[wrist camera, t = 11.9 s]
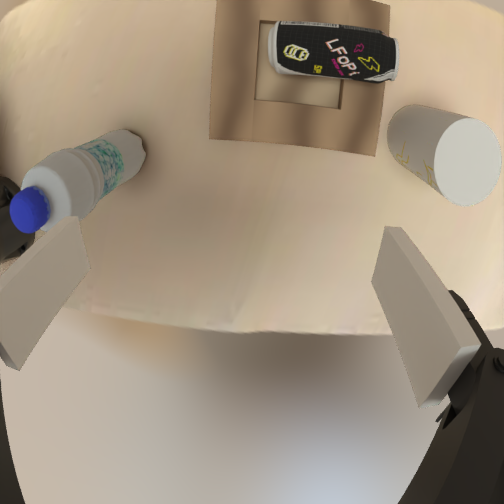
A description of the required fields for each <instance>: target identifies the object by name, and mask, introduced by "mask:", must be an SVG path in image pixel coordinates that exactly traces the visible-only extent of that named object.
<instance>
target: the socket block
mask: <svg viewBox="0 0 504 504" xmlns="http://www.w3.org/2000/svg"><path fill="white" fill-rule="evenodd" d="M277 21H301V22H319V23H331V24H341V25H350V26H357V27H364V28H371V29H377V30H381V31H383V32H384V33H385V34H386V35H388V36H389V22H390V5H386V4H383V3H379V2H375V1H372V0H217V5H216V17H215V31H214V45H213V61H212V79H211V101H210V128H209V139H217V140H238V141H253V142H266V143H278V144H288V145H298V146H306V147H315V148H323V149H330V150H337V151H344V152H350V153H357V154H363V155H369V156H374V157H375V153H376V147H377V141H378V134H379V127H380V120H381V113H382V105H383V97H384V88H385V81H384V82H382V83H379V84H375V83H369V82H362V81H355V80H348V79H340V78H331V77H320V76H308V75H292V74H278V73H277V72H276V70H275V68H274V67H272V66H271V64H270V61H269V56H268V36H269V31H270V29H271V28H272V27H274V26H275V23H276V22H277Z"/></svg>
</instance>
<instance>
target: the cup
mask: <svg viewBox="0 0 504 504" xmlns="http://www.w3.org/2000/svg"><path fill="white" fill-rule="evenodd" d="M387 142H388V146H389V149H390V152H391V154H392V155H393V157H394V158H395V159H396V160H397V161H398V162H399V163H400V164H401V165H403V166H404V167H405V168H407V169H408V170H410V171H411V172H412V173H414V174H415V175H416V176H418V177H419V178H421V179H422V180H423V181H425V182H426V183H427V184H428V185H430V186H431V187H432V188H434V189H435V190H436V191H437V192H439V193H440V194H441V195H443V196H444V197H445V198H446V199H447V200H449V201H450V202H452V203H453V204H456V205H458V206H472V205H475V204H478V203H480V202H481V201H483V200H484V199H485V198H486V197H487V196H488V195H489V194H490V193H491V192H492V190H493V189H494V187H495V185H496V183H497V181H498V179H499V175H500V171H501V164H502V156H501V149H500V145H499V142H498V139H497V137H496V135H495V134H494V132H493V131H492V129H491V128H490V127H489V126H488V125H487V124H485V123H484V122H482V121H480V120H478V119H474V118H471V117H467V116H463V115H460V114H456V113H452V112H448V111H443V110H439V109H435V108H430V107H425V106H420V105H409V106H406V107H403V108H402V109H400V110H399V111H398V112H396V113H395V115H394V116H393V117H392V119H391V121H390V123H389V126H388V131H387Z"/></svg>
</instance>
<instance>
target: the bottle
mask: <svg viewBox="0 0 504 504" xmlns="http://www.w3.org/2000/svg"><path fill="white" fill-rule="evenodd" d="M145 157H146V153H145V152H144V150H143V147H142V139H141V138H140V137H139V136H137V135H134V134H132V133H131V132H129V131H128V130H123V129H122V130H116V131H112V132H109V133H107V134H105V135H103V136H101V137H99V138H97V139H96V140H93V141H90V142H88V143H86V144H83V145H81V146H78V147H76V148H74V149H71V148H68V149H63V150H60V151H58V152H54V153H52V154H50V155H49V156H47V157H46V158H45V159H44V160H42V161H41V162H39V163H38V164H37V165H35V166H34V167H33V168H31V169H30V170H29V171H28V172H27V173H26V175H25V177H24V179H23V182H22V186H21V191H20V192H18V193H17V194H16V195H15V196H14V197H13V199H12V201H11V204H10V216H11V219H12V221H13V223H14V225H15V226H16V227H17V229H19V230H20V231H21V232H24V233H28V234H29V233H33V232H35V231H37V230H39V229H41V230H42V231H45V232H48V231H49V230H50V229H51V228H52V227H53V226H54V225H56V224H57V223H58V222H59V221H60V220H62V219H63V218H64V217H65V216H78V219H79V221H80V220H82V219H83V218H85V217H86V216H87V215H88V213H90V212H91V211H92V210H93V209H94V208H95V206H96V204H97V203H98V201H99V200H100V199H101V198H103V197H104V196H105V195H107V194H108V193H109V192H111V191H112V190H113V189H114V188H116V187H117V186H119V185H121V184H122V183H124V182H126V181H128V180H129V179H131V178H132V177H134V176H135V175H136V174H137V173H138V172H139V170H140V168H141V166H142V164H143V162H144V160H145Z"/></svg>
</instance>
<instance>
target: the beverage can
mask: <svg viewBox="0 0 504 504" xmlns="http://www.w3.org/2000/svg"><path fill="white" fill-rule="evenodd" d="M268 56H269V61H270V64H271V66H272V67H274V68H275V70H276V72H277V73H278V74H292V75H308V76H320V77H331V78H340V79H348V80H355V81H362V82H369V83H375V84H379V83H382V82H384V81H386V80H391V81H394V80H395V78H396V76H397V72H398V66H399V45H398V41H397V39H395V38H390V37H389V36H388V35H386V34H385V33H384V32H383V31H381V30H377V29H371V28H364V27H357V26H350V25H341V24H331V23H319V22H301V21H277V22H276V23H275V26H274V27H272V28H271V29H270V31H269V36H268Z"/></svg>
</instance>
